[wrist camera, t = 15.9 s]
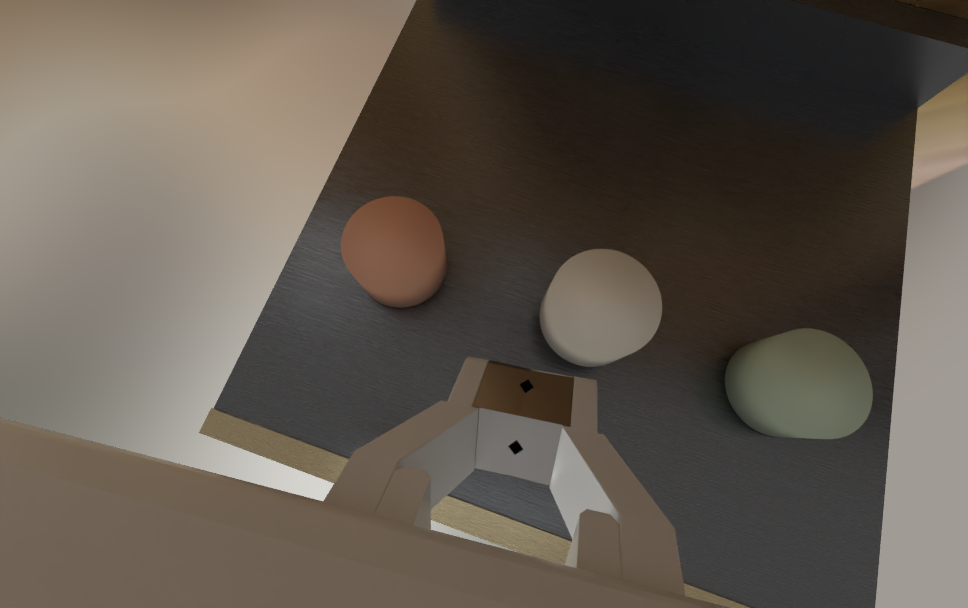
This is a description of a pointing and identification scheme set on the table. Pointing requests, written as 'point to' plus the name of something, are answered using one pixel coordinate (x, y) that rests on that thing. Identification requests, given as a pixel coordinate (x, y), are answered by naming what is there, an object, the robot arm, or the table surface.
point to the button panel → (640, 234)
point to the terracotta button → (395, 251)
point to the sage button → (799, 385)
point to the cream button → (600, 308)
